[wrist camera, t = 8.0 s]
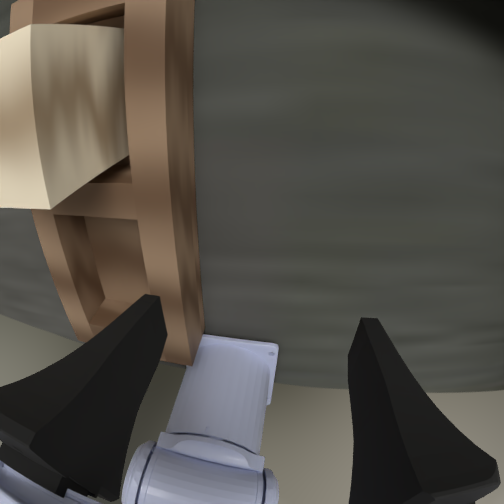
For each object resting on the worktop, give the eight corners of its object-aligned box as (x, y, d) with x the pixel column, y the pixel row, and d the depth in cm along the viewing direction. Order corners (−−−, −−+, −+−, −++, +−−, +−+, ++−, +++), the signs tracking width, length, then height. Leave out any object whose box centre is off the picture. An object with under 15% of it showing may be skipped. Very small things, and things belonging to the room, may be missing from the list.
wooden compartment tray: (205, 327, 25) (192, 366, 22) (98, 308, 26) (78, 340, 23) (196, -30, 12) (169, -51, 8) (53, 5, 13) (11, 4, 9)
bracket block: (139, 148, 17) (50, 209, 10) (84, 151, 17) (-7, 207, 11) (134, 29, 13) (30, 24, 6) (76, 42, 13) (-30, 54, 7)
